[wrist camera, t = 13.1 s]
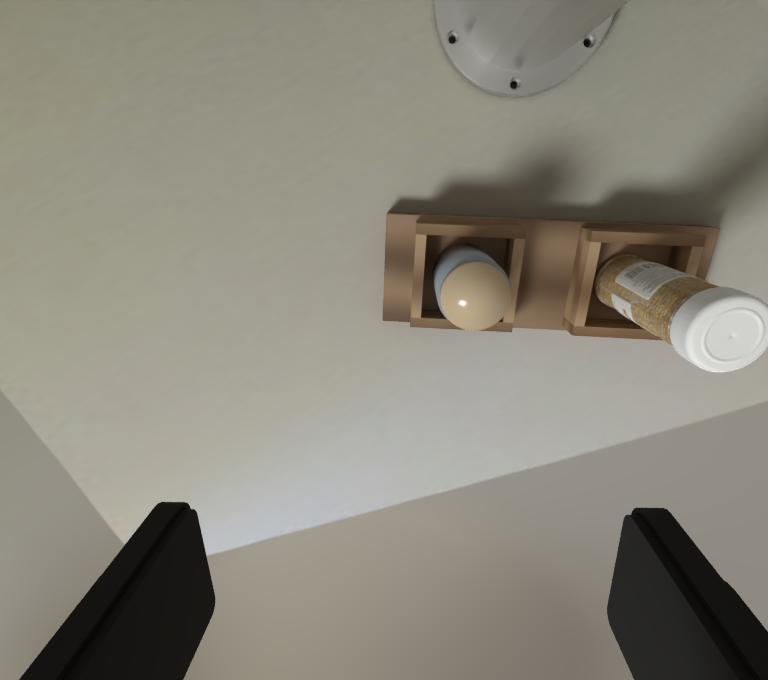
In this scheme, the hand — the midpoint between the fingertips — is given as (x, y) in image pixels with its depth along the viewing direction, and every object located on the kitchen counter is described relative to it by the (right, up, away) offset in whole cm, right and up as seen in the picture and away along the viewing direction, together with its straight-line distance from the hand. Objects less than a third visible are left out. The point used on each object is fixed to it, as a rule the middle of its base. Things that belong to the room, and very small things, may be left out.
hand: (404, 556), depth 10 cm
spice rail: (+13, +11, +28) cm, 33 cm away
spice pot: (+6, +10, +27) cm, 30 cm away
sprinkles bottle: (+19, +10, +27) cm, 34 cm away
